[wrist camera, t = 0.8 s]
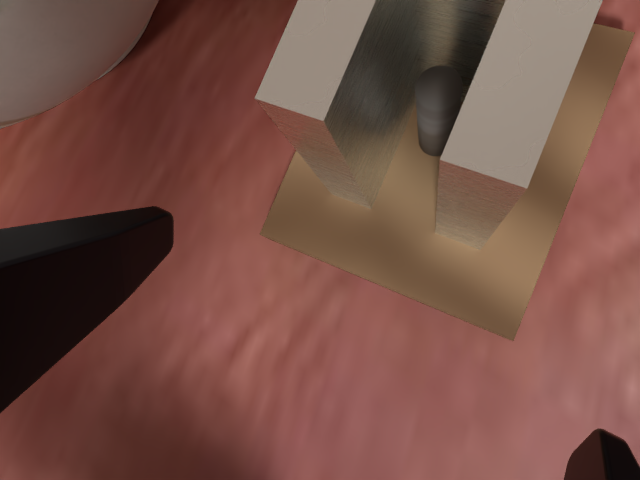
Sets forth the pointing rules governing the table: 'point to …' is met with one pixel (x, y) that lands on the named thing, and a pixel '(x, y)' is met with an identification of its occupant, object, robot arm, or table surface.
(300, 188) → the peg stand
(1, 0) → the decorative bowl
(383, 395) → the table surface
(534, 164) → the c link
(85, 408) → the table surface
